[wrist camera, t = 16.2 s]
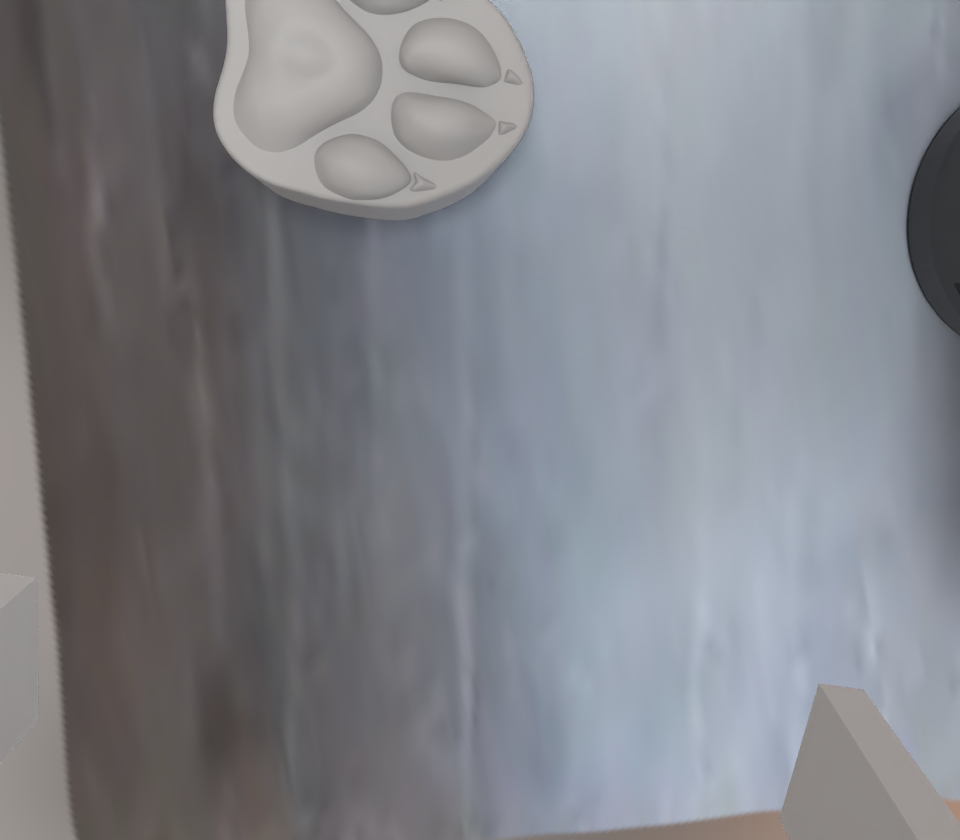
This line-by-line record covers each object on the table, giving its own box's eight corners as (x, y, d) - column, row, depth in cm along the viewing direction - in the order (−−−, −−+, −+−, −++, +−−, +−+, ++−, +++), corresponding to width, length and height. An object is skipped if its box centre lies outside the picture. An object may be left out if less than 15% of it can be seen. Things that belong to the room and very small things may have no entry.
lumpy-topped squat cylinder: (261, -26, 40) (225, -111, 31) (528, 28, 41) (563, -38, 33) (236, 196, 41) (195, 174, 33) (494, 240, 43) (519, 230, 34)
